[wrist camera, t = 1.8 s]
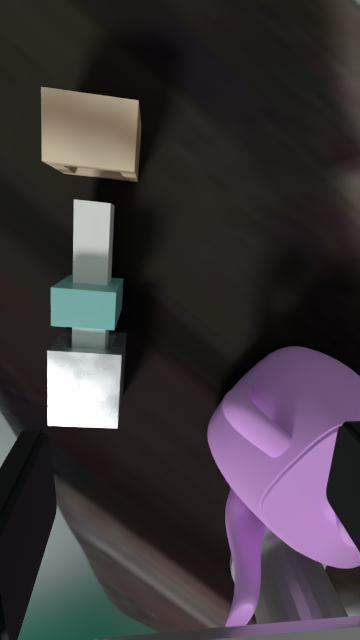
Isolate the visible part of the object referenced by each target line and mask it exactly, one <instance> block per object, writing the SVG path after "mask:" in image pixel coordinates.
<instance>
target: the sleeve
mask: <svg viewBox="0 0 360 640" xmlns="http://www.w3.org/2000/svg"><path fill="white" fill-rule="evenodd" d="M126 336H127V333H121V332H109V339H108V350H101V349H85V348H72V329H65V330H64V331H63V332H62V334H61V335H60V336H59V337H58V338H57V340H56V341H55V342H54V343H53V344H52V346H51V347H50V348H49V349H48V351H47V358H48V426H71V427H97V428H118V422H119V416H120V410H121V404H122V398H123V387H124V370H125V353H126Z"/></svg>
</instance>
